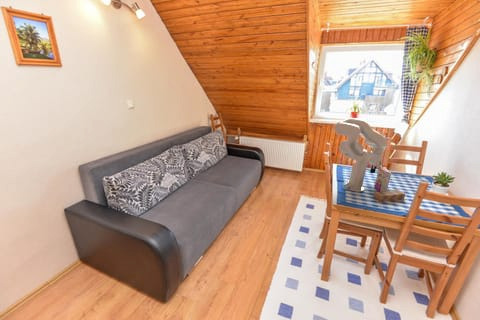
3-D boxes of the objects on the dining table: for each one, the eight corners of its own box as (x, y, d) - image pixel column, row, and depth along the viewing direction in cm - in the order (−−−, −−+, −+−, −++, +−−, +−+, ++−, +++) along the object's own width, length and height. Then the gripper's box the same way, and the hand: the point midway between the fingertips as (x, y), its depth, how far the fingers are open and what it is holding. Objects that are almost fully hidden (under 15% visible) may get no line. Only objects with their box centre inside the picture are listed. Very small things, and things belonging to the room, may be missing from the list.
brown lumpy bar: (379, 202, 153) (381, 196, 151) (373, 198, 158) (374, 191, 156) (403, 200, 157) (405, 193, 155) (396, 195, 162) (398, 189, 160)
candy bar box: (373, 185, 177) (378, 166, 171) (380, 186, 176) (385, 167, 170) (379, 192, 166) (384, 172, 161) (386, 192, 165) (392, 172, 160)
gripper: (366, 148, 179) (362, 169, 185) (380, 154, 165) (374, 176, 172) (374, 148, 180) (370, 168, 186) (389, 154, 166) (383, 176, 173)
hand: (372, 172), depth 179 cm, fingers closed
